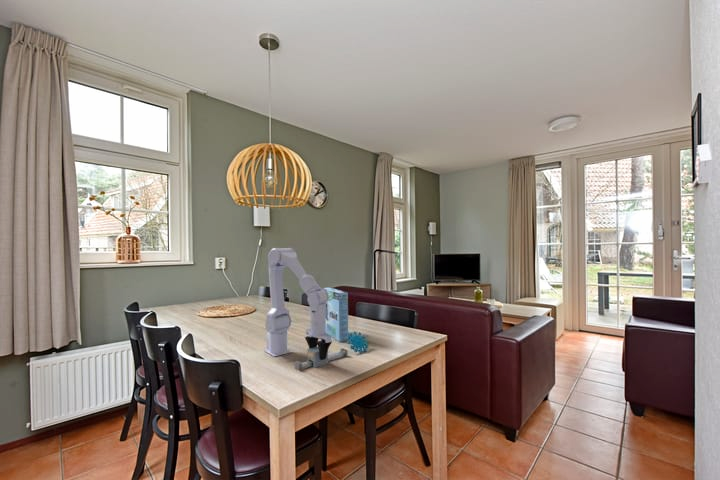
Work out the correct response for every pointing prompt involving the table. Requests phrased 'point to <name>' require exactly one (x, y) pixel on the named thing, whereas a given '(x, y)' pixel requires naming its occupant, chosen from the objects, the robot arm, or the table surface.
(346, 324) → the gum box
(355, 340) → the gear
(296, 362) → the rail
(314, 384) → the table surface
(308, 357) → the block
